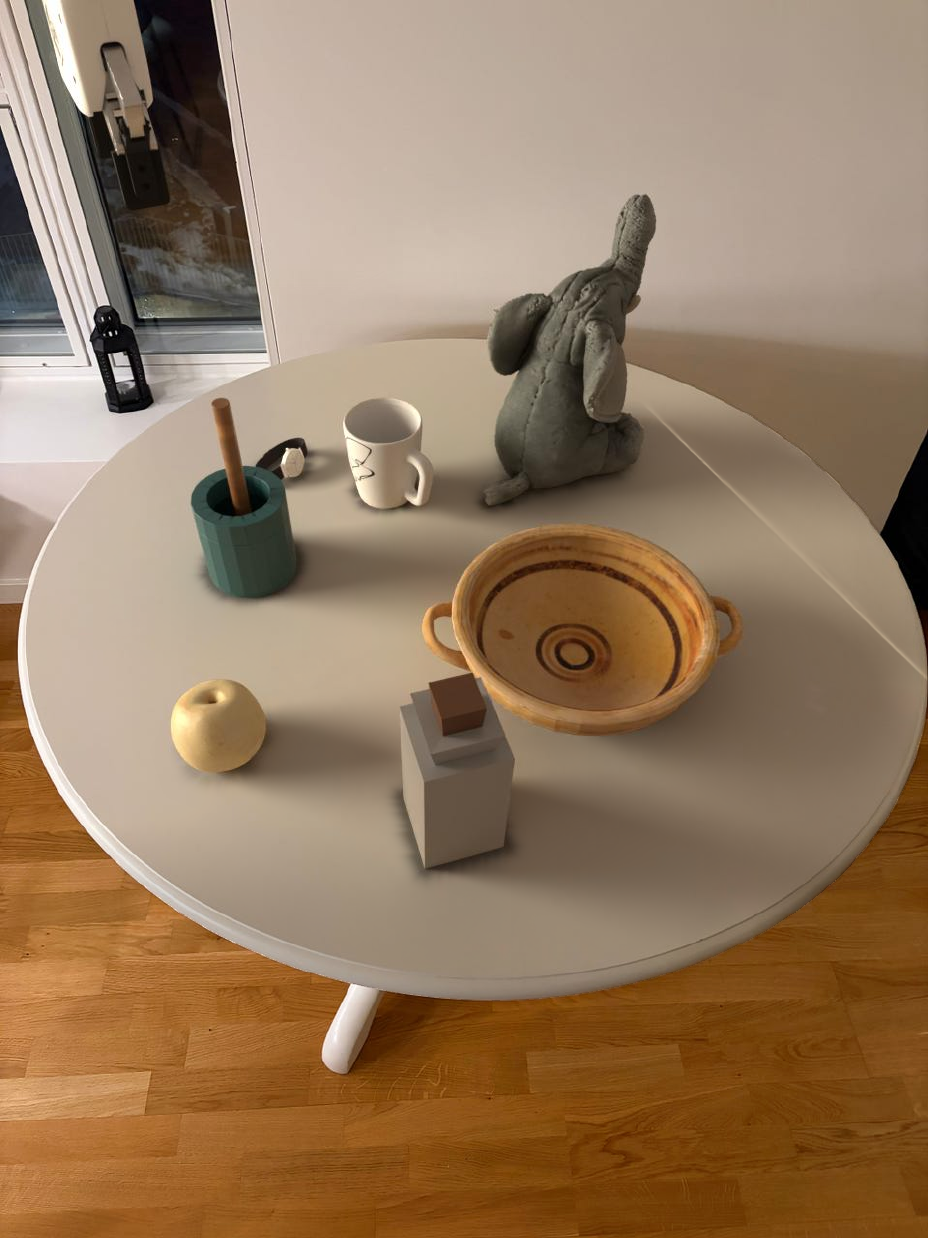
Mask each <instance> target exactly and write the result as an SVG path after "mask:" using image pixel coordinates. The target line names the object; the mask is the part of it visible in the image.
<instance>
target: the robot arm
mask: <svg viewBox="0 0 928 1238" xmlns="http://www.w3.org/2000/svg"><path fill="white" fill-rule="evenodd" d="M41 1H42V5H43V8H44V9H43V10H44V13H45V16H46V20H47V24H48V27H49V32H50V36H51V40H52V43H53V48H54V53H55V56H56V60H57V64H58V65H57V66H58V69H59V72H60V76H61V79H62V81H63V82H64V84H65V87H66V88H67V91H68V92H69V94H70V96H71V98H72V100H73V101H74V103H75V105H76V107H77V108H78V110H79V111H80V112H81V113H82V114H83V115H85V116H86V117H87V119H88V120H87V121H88V124H89V128H90V131H91V135H92V139H93V143H94V146H95V150H96V153H97V155H98V157H99V158H100V159H102V160H106V159H112V161H113V163H114V168H115V172H116V175H117V179H118V184H119V187H120V192H121V196H122V199H123V203H124V205H125V208H126V209H127V210H129V211H131V212H133V211H138V210H144V209H149V208H156V207H162V206H166V205H169V204H170V202H171V196H170V192H169V185H168V181H167V177H166V173H165V168H164V163H163V159H162V154H161V149H160V146H159V144H158V142H157V141H158V140H157V138H156V135H155V131H154V128H153V125H152V122H151V119H150V116H149V113H148V108H149V107H150V106H151V105H152V103H153V100H154V98H153V97H154V96H153V89H152V84H151V83H152V82H151V78H150V72H149V67H148V62H147V57H146V52H145V48H144V41H143V37H142V33H141V27H140V23H139V18H138V14H137V10H136V5H135V2H134V0H41Z"/></svg>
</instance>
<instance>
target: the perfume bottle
mask: <svg viewBox="0 0 928 1238" xmlns="http://www.w3.org/2000/svg"><path fill="white" fill-rule="evenodd" d="M409 695H410V697H411V700H412V703H409V704H405V705H401V706H399V725H400V726H399V727H400V728H399V729H400V753H401V772H402V795H403V796H402V797H403V802H404V805H405V808H406V811H407V814H408V818H409V821H410V825H411V828H412V832H413V834H414V838H415V841H416V844H417V847H418V851H419V854H420V857H421V861H422V865H423V867H424V869H425V870H426V869H429V868H433V867H436V866H439V865H443V864H447V863H451V862H454V861H457V860H461V859H466V858H469V857H472V856H476V855H480V854H483V853H487V852H490V851H494V850H497V849H502V848H504V846H505V839H506V830H507V823H508V817H509V808H510V802H511V801H510V800H511V792H512V784H513V777H514V770H515V769H514V768H515V762H516V758H515V755H514V753H513V750H512V748H511V746H510V744H509V740H508V738H507V736H506V734H505V731H504V728H503V726H502V724H501V721H500V719H499V716H498V713H497V711H496V709H495V707H494V704H493V702H492V699H491V696H490V694H489V693H488V692H487V689H486V687H485V686H484V683H483V681H482V678H481V677H479V678H476V677H475V676H474V674H473V673H472V672H469V673H465V674H461V675H456V676H451V677H447V678H443V679H439V680H433V681H430V682H428V689H423V690H419V691H415V692H411V693H410V694H409Z"/></svg>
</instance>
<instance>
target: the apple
mask: <svg viewBox="0 0 928 1238" xmlns="http://www.w3.org/2000/svg"><path fill="white" fill-rule="evenodd" d="M266 729H267V720H266V716H265V712H264V709H263V707H262V705H261V703H260V702H259V700H258V699H257V697H256V696H255V695H254V693H252V692H251V691H250V689H248V687H246V686H245V685H244V684H242V683H241V682H238V681H235V680H231V679H225V678H219V679H209V680H206V681H203V682H200V683H199V684H197V685H195V686H192V688H190V689H189V690H187V691H186V692H185V693H184V694H182V695H181V697H180V698H179V699H178V700H177V702H176V703H175V705H174V707H173V709H172V714H171V719H170V734H171V738H172V742H173V744H174V747H175V749H176V750H177V752H178V754H179V755H180V756H181V758H182V760H184V761H185V762H186V763H187V764H188V765H189V766H191V767H192V768H194V769H196V770H198V771H201V772H204V773H222V772H228V771H232V770H234V769H237V768H240V767H242V766H244V765H245V764H247V763H248V762H249V761H250V760H252V759H253V758H254V756H256V754H257V753H258V751H259V750H260V748H261V746H262V745H263V742H264V739H265V737H266V732H267V731H266Z"/></svg>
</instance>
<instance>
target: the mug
mask: <svg viewBox="0 0 928 1238" xmlns="http://www.w3.org/2000/svg"><path fill="white" fill-rule="evenodd" d="M342 425H343V433H344V438H345V445H346V451H347V456H348V461H349V466H350V469H351V472H352V475H353V479H354V482H355V485H356V488H357V492H358V495H359V496H360V498H361V500H362V501H363V502H364V503H366V504H367V505H368V506H370V507H373V508H376V509H384V510H386V509H387V510H389V509H395V508H398V507H401V506H403V505H405V504H406V503H407V502H410V503H411V504H412V505H413V506H417V507H420V506H423V505H425V504H426V503H427V502H428V501H429V499H430V496H431V490H432V486H433V482H434V473H435V471H434V467H433V463H432V462H431V460H430V459H429V458H428V456H426V455H425V454H423V453H422V440H423V418H422V415H421V413H420V412H419V410H418V409H417V408H416V407H415V406H414V405H413V404H411V403H410V402H408V401H405V400H403V399H399V398H394V397H383V396H382V397H374V398H368V399H365V400H364V399H363V400H362V401H360V402H358V403H356V404H354V405H353V406H351V407H350V408H348V410H347V411H346V413H345V415H344V417H343V424H342ZM417 476H419V482H418V489H417V490H416V488H415V486H416V481H417V478H418V477H417Z"/></svg>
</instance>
